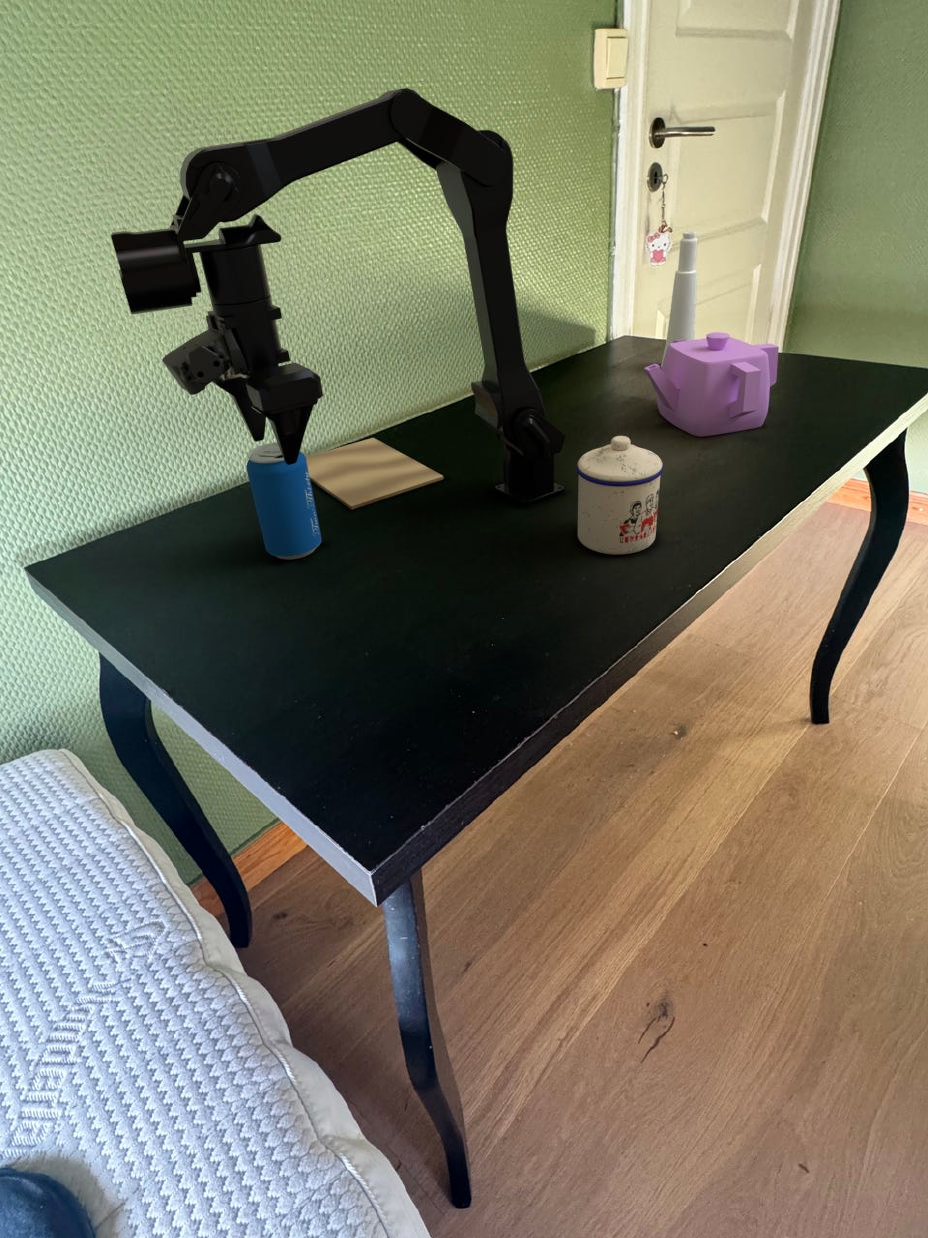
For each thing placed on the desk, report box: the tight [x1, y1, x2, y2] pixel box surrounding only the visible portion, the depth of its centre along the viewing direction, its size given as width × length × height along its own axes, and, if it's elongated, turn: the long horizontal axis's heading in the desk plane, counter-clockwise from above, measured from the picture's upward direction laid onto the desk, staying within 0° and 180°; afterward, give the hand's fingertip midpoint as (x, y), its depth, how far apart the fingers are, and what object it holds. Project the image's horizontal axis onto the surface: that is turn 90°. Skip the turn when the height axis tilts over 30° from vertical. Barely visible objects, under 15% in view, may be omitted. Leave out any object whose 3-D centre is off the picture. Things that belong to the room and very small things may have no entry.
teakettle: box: [643, 331, 780, 438], centre depth 112 cm, size 17×17×12 cm
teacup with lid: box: [576, 435, 664, 556], centre depth 84 cm, size 12×9×12 cm
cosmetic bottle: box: [660, 231, 699, 369], centre depth 132 cm, size 6×6×22 cm
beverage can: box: [245, 441, 322, 560], centre depth 86 cm, size 6×6×12 cm
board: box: [305, 437, 445, 510], centre depth 107 cm, size 20×14×1 cm
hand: (274, 451), depth 82 cm, fingers open, 9 cm apart
